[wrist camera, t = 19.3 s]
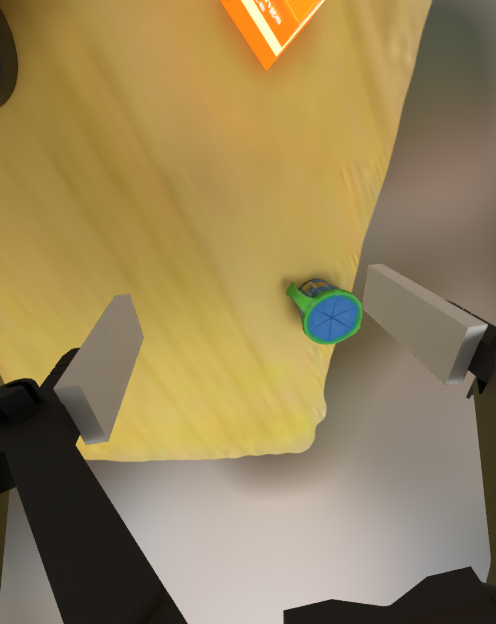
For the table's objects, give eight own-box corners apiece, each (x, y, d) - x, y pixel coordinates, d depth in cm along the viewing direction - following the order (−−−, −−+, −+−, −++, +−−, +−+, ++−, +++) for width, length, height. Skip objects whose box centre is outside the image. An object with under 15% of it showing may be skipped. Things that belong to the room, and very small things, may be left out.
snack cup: (268, 295, 54) (280, 321, 45) (303, 253, 51) (324, 271, 42) (321, 330, 60) (341, 359, 51) (355, 295, 57) (383, 319, 48)
